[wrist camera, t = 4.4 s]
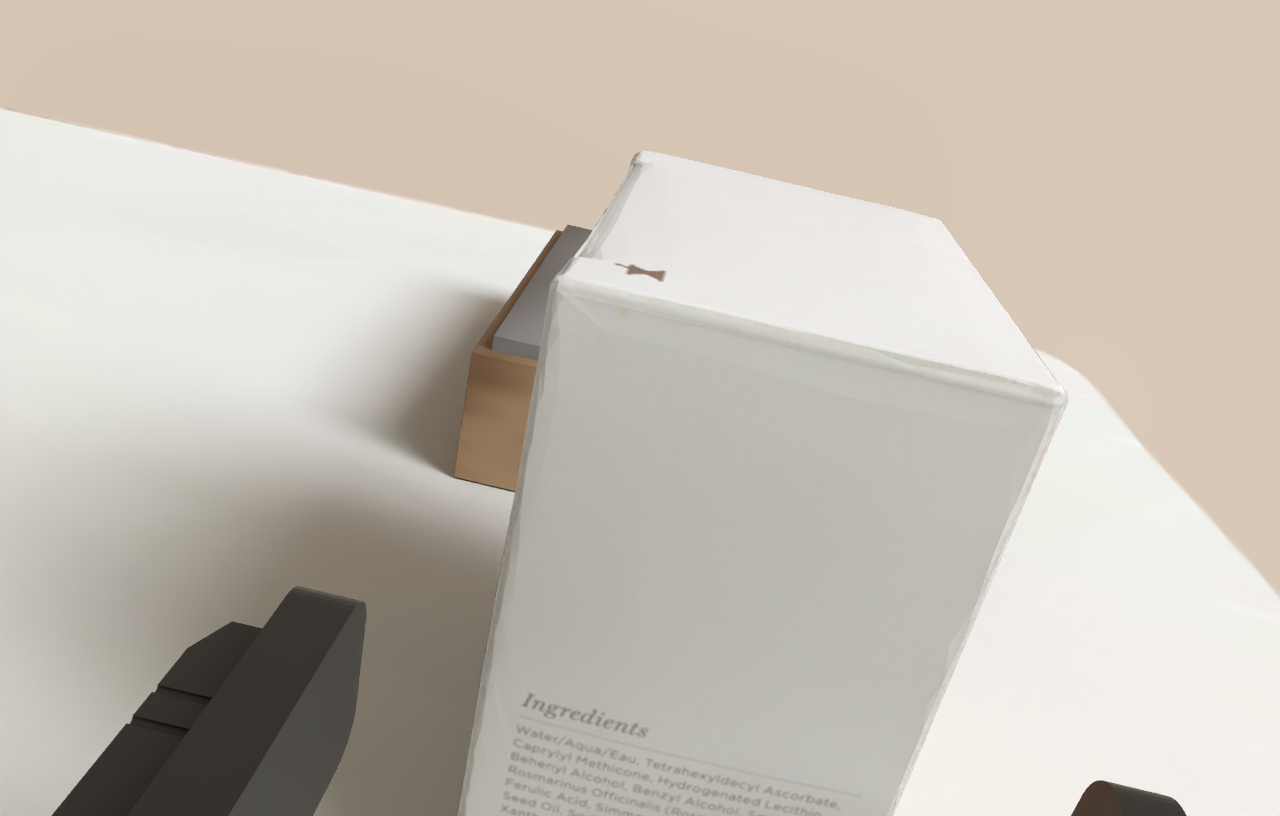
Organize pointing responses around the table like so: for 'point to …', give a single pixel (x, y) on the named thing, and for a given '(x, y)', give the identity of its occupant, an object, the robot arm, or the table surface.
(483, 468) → the plinth
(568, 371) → the small box
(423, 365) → the table surface
